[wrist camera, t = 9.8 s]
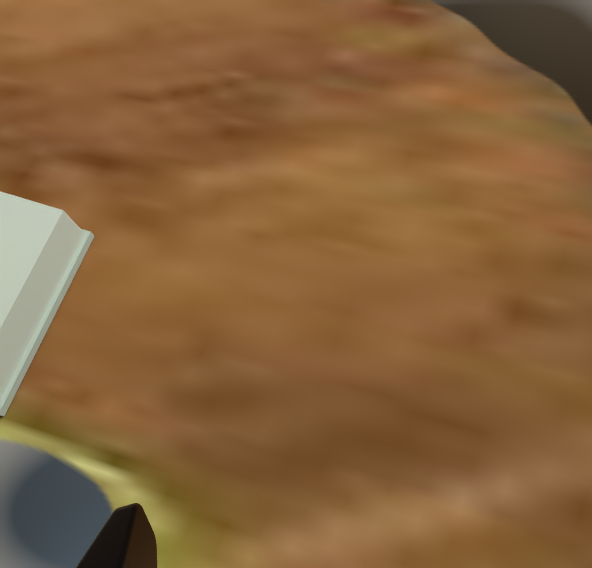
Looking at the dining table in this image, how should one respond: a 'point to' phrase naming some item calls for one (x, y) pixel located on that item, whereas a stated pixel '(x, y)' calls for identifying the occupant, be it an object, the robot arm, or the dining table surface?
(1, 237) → the pedestal block
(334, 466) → the dining table surface
